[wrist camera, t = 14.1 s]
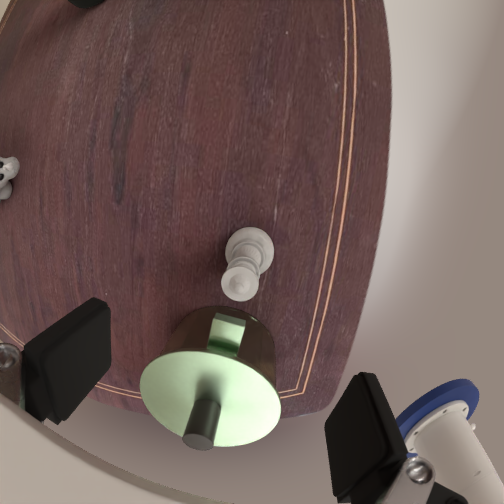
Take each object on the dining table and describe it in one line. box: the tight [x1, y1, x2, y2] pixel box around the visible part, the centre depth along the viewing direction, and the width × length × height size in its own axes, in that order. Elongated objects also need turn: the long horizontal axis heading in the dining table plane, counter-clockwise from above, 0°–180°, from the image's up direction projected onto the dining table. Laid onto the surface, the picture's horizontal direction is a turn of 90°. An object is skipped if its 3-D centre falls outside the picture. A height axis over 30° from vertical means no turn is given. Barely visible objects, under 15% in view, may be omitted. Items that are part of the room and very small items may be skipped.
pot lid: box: [140, 348, 281, 450], centre depth 19 cm, size 12×12×5 cm
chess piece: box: [221, 227, 274, 301], centre depth 21 cm, size 4×4×10 cm
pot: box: [160, 306, 276, 387], centre depth 25 cm, size 11×17×8 cm
